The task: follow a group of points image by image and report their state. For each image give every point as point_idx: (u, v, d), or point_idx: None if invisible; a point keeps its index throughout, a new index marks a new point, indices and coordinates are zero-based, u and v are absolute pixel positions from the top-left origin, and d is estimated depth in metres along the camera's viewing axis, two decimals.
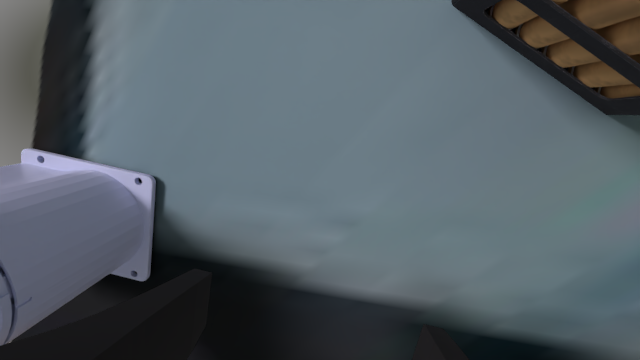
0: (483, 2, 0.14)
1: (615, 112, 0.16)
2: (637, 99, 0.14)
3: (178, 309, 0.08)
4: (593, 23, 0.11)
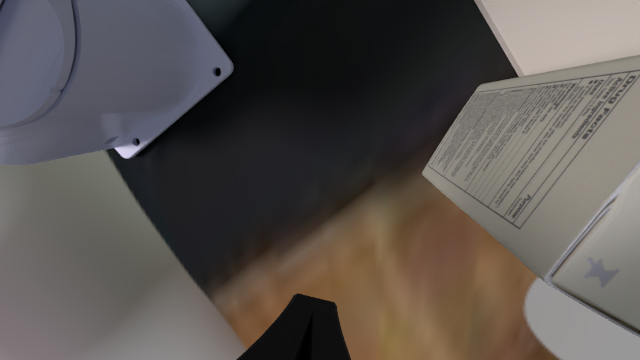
0: None
1: None
2: None
3: (303, 341, 0.08)
4: None
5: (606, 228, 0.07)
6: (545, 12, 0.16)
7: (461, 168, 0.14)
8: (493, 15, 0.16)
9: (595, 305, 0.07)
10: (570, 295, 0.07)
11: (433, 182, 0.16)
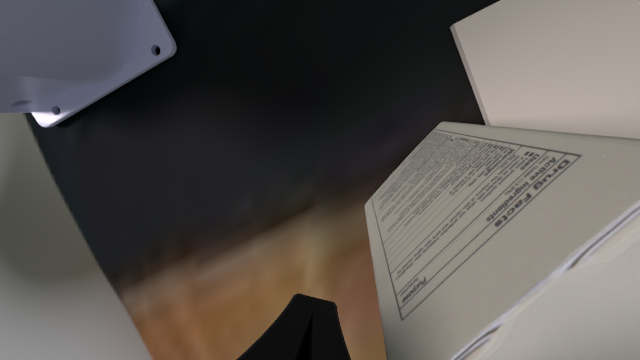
0: None
1: None
2: None
3: (303, 341, 0.08)
4: None
5: None
6: (522, 57, 0.14)
7: (391, 214, 0.12)
8: (467, 48, 0.14)
9: None
10: None
11: (367, 220, 0.14)
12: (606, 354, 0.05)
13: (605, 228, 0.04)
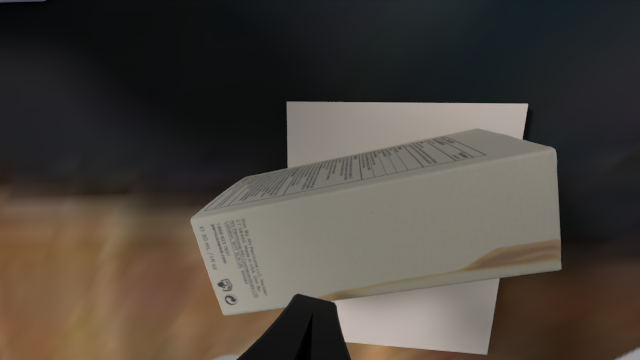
0: None
1: None
2: None
3: (304, 341, 0.08)
4: None
5: None
6: (329, 155, 0.16)
7: (321, 182, 0.12)
8: (290, 126, 0.16)
9: None
10: (556, 172, 0.09)
11: (257, 205, 0.11)
12: None
13: (490, 131, 0.13)
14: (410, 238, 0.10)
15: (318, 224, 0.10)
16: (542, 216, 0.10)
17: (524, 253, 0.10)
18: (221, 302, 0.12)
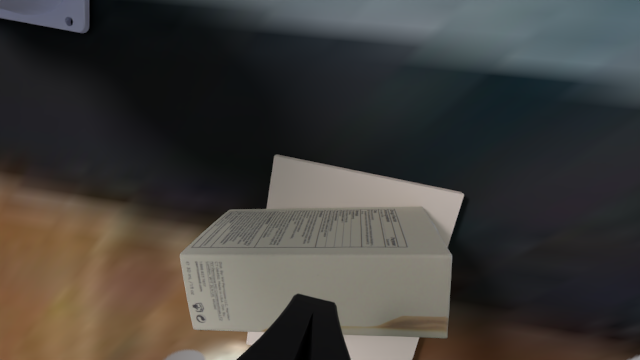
0: None
1: None
2: None
3: (303, 341, 0.08)
4: None
5: None
6: (302, 204, 0.19)
7: (286, 239, 0.15)
8: (274, 175, 0.19)
9: (449, 283, 0.13)
10: (451, 271, 0.13)
11: (233, 253, 0.14)
12: None
13: (427, 215, 0.17)
14: (342, 298, 0.14)
15: (276, 276, 0.14)
16: (437, 299, 0.13)
17: (422, 322, 0.13)
18: (193, 319, 0.15)
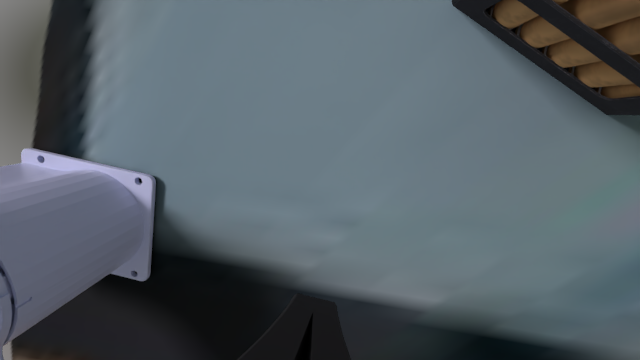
0: (483, 2, 0.14)
1: (616, 112, 0.16)
2: (637, 99, 0.14)
3: (303, 341, 0.08)
4: (594, 23, 0.11)
5: None
6: None
7: None
8: None
9: None
10: None
11: None
12: None
13: None
14: None
15: None
16: None
17: None
18: None
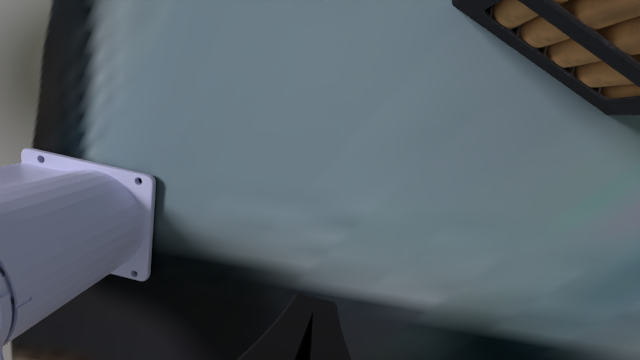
0: (484, 2, 0.14)
1: (616, 112, 0.16)
2: (638, 99, 0.14)
3: (303, 341, 0.08)
4: (594, 23, 0.11)
5: None
6: None
7: None
8: None
9: None
10: None
11: None
12: None
13: None
14: None
15: None
16: None
17: None
18: None
